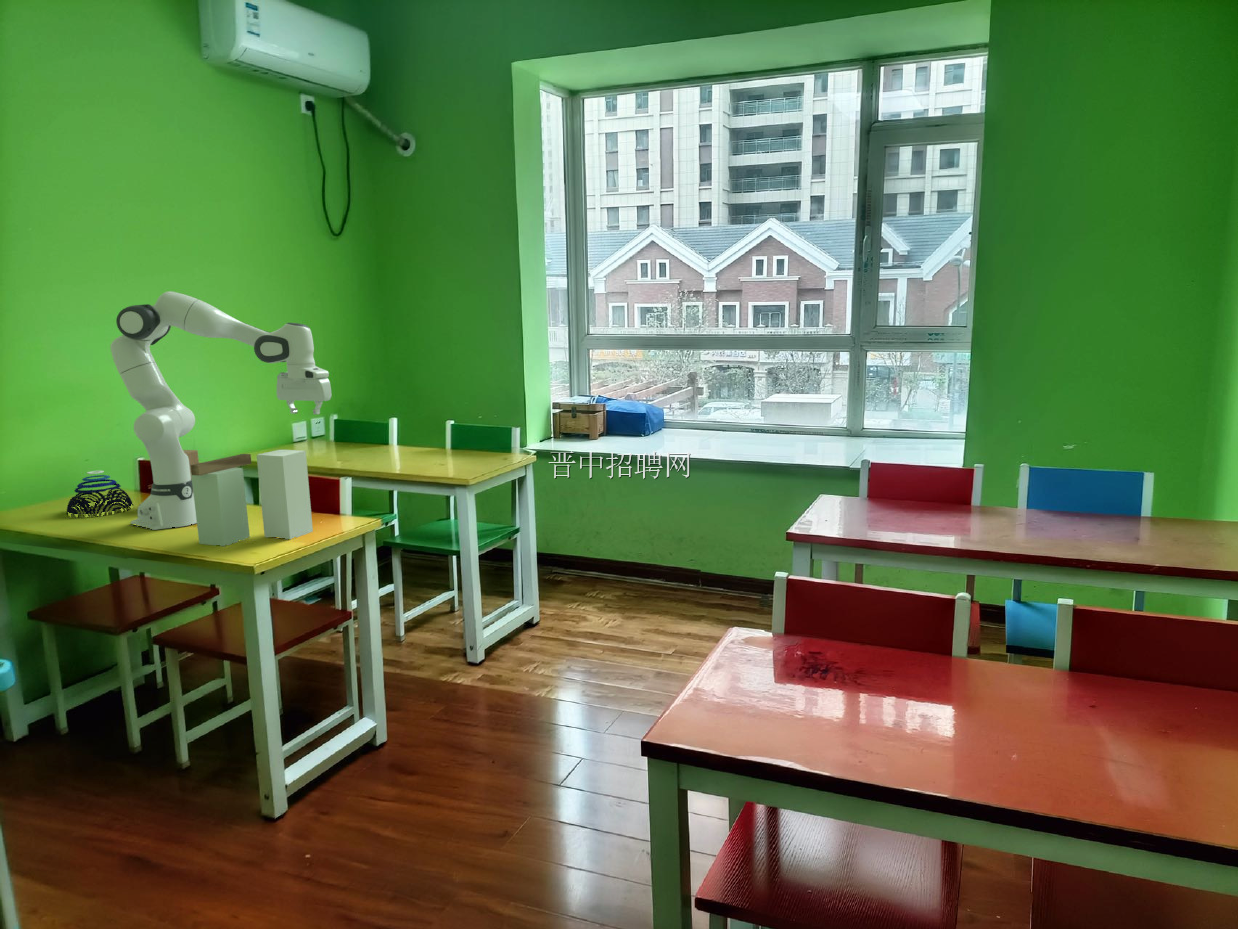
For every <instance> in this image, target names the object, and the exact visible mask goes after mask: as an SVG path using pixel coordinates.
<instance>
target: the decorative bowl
mask: <svg viewBox="0 0 1238 929" xmlns="http://www.w3.org/2000/svg"><path fill="white" fill-rule="evenodd" d="M104 472H105V471H104V470H92V471H87V472H86V474H87V475H90V476H86V477H83V478H82V479H81V481H82V482H80V483H78V484H77V486H76V488H74V493H76V494H75V496H72V497H71V498H70V499H69V500H68V503H67V507H66V513H67V512H69V513H72V515H74V514H79V515H80V514H82V515H83V514H88V515H89V514H91V515H92V514H93V515H94V514H95V515H97V514H98V513H99V514H101V513H102V512H105V513H106V512H108V511H109V512H110V510H111V509H112V510H111V511H115V510H116V511H118V510H119V509H121V508H123V509H124V508H126V509H127V507H128V505H129V506H131V504H132V503H133V501H132V499H131V497H130V496H129V494H128V493H127V492H126V490H123V489H122V488H121V485H120V483H117V481H116V480H115V479H110V478H111V476H110V475H106V474H102V473H104ZM95 474H99V475H95ZM99 482H101V483H99ZM90 483H91V484H90ZM108 486H111V487H108ZM101 487H102V488H101ZM103 487H107V488H103ZM90 488H91V489H90ZM93 488H98V489H93ZM99 488H101V489H99ZM84 489H85V490H84ZM86 489H87V490H86ZM106 491H107V493H106V494H103V493H104V492H106ZM102 492H103V493H102ZM107 500H109V501H107ZM123 500H125V502H124V501H123ZM100 501H102V503H101V504H100ZM105 501H107V504H106V505H105ZM93 502H96V503H97V504H96V503H95V505H94V504H93V506H94V507H89V506H90V505H89V504H88V503H93ZM114 502H116V503H115V504H114ZM119 502H121V503H119ZM112 503H113V504H112ZM122 503H123V504H125V505H123V504H122ZM110 504H112V505H110ZM118 504H119V505H118ZM79 505H80V506H79ZM97 505H98V506H97ZM102 505H105V506H104V507H102ZM77 506H79V507H80V509H81V510H79V508H78V507H77ZM113 506H116V507H113ZM73 507H75V509H74V508H73ZM82 508H84V509H82ZM76 509H77V510H76ZM101 510H102V511H101Z"/></svg>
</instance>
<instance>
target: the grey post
mask: <svg viewBox="0 0 1238 929" xmlns="http://www.w3.org/2000/svg"><path fill="white" fill-rule="evenodd" d="M256 463H257V464H256V465H257V473H258V482H259V483H258V484H259V493H260V502H261V514H262V525H263V534H264V538H268V537H279V538H285V539H284V540H288V539H291V540H293V539H292V538H294V537H296V538H299V537H302V536H305V535H307V534H309V533H313V532H314V530H313V519H312V518H313V517H312V508H311V507H312V506H311V505H312V504H311V498H310V497H311V494H310V485H309V484H310V482H309V473H308V460H307V452H306V450H297V449H276V450H272V451H268V452H264V453H258V454H256ZM294 539H295V538H294Z"/></svg>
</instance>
